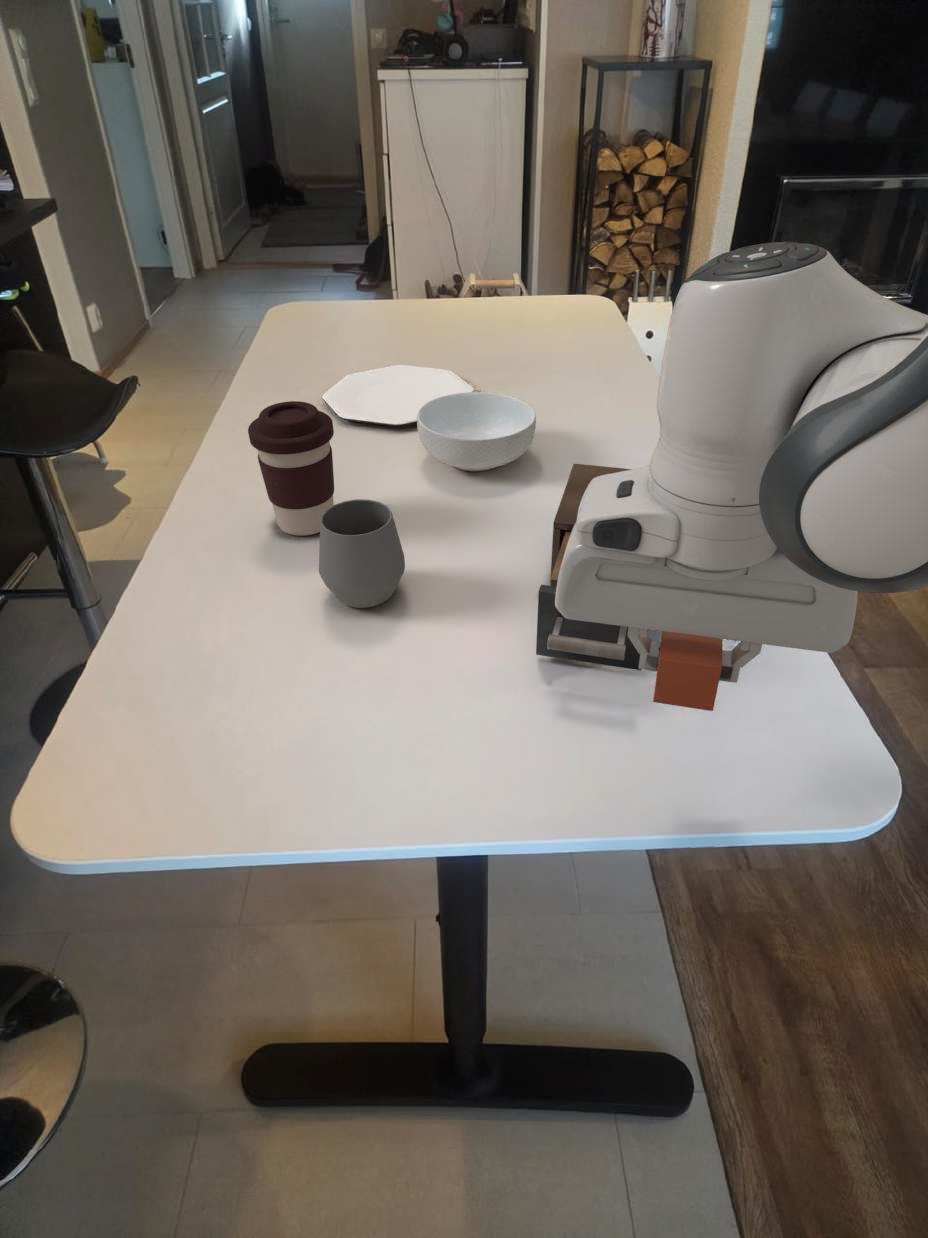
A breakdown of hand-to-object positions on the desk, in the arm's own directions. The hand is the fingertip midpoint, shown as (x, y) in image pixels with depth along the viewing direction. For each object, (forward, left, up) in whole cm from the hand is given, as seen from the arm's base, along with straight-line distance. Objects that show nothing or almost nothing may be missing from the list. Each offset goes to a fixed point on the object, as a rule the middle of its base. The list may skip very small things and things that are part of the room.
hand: (686, 670), depth 61 cm
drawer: (+8, -16, -11) cm, 21 cm away
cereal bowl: (+30, -54, -12) cm, 63 cm away
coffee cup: (+47, -32, -12) cm, 58 cm away
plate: (+48, -72, -12) cm, 88 cm away
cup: (+34, -19, -12) cm, 41 cm away
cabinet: (+8, -30, -12) cm, 33 cm away
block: (0, 0, -2) cm, 2 cm away
